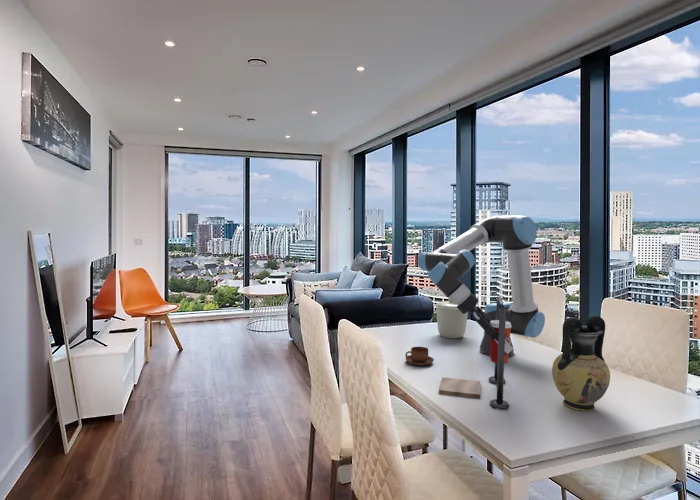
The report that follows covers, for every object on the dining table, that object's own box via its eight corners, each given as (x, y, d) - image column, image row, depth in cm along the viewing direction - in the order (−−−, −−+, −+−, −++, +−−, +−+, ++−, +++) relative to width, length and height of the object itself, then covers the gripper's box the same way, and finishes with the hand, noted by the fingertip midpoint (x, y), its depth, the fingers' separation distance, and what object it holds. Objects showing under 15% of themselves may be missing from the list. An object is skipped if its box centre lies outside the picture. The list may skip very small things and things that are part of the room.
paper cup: (512, 365, 155) (513, 325, 154) (488, 363, 156) (490, 323, 156) (508, 358, 162) (510, 320, 162) (486, 357, 164) (487, 319, 163)
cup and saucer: (416, 369, 186) (416, 354, 185) (399, 361, 196) (400, 347, 196) (439, 365, 191) (439, 350, 191) (422, 357, 202) (422, 343, 202)
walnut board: (480, 384, 168) (480, 381, 168) (480, 398, 155) (480, 394, 155) (442, 380, 172) (442, 377, 172) (438, 393, 159) (438, 390, 159)
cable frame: (488, 378, 175) (491, 294, 173) (504, 379, 174) (507, 295, 172) (490, 408, 146) (493, 308, 145) (509, 410, 145) (513, 309, 143)
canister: (432, 338, 235) (433, 298, 233) (436, 331, 252) (437, 293, 251) (468, 342, 229) (469, 300, 228) (469, 333, 247) (470, 295, 245)
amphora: (582, 420, 138) (586, 323, 136) (539, 400, 154) (542, 313, 152) (621, 411, 145) (625, 319, 143) (576, 393, 161) (579, 309, 159)
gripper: (457, 301, 172) (500, 346, 169) (454, 311, 153) (502, 363, 149) (471, 288, 171) (515, 334, 167) (470, 296, 151) (520, 348, 147)
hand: (509, 347), depth 158 cm, fingers closed on paper cup, 8 cm apart
